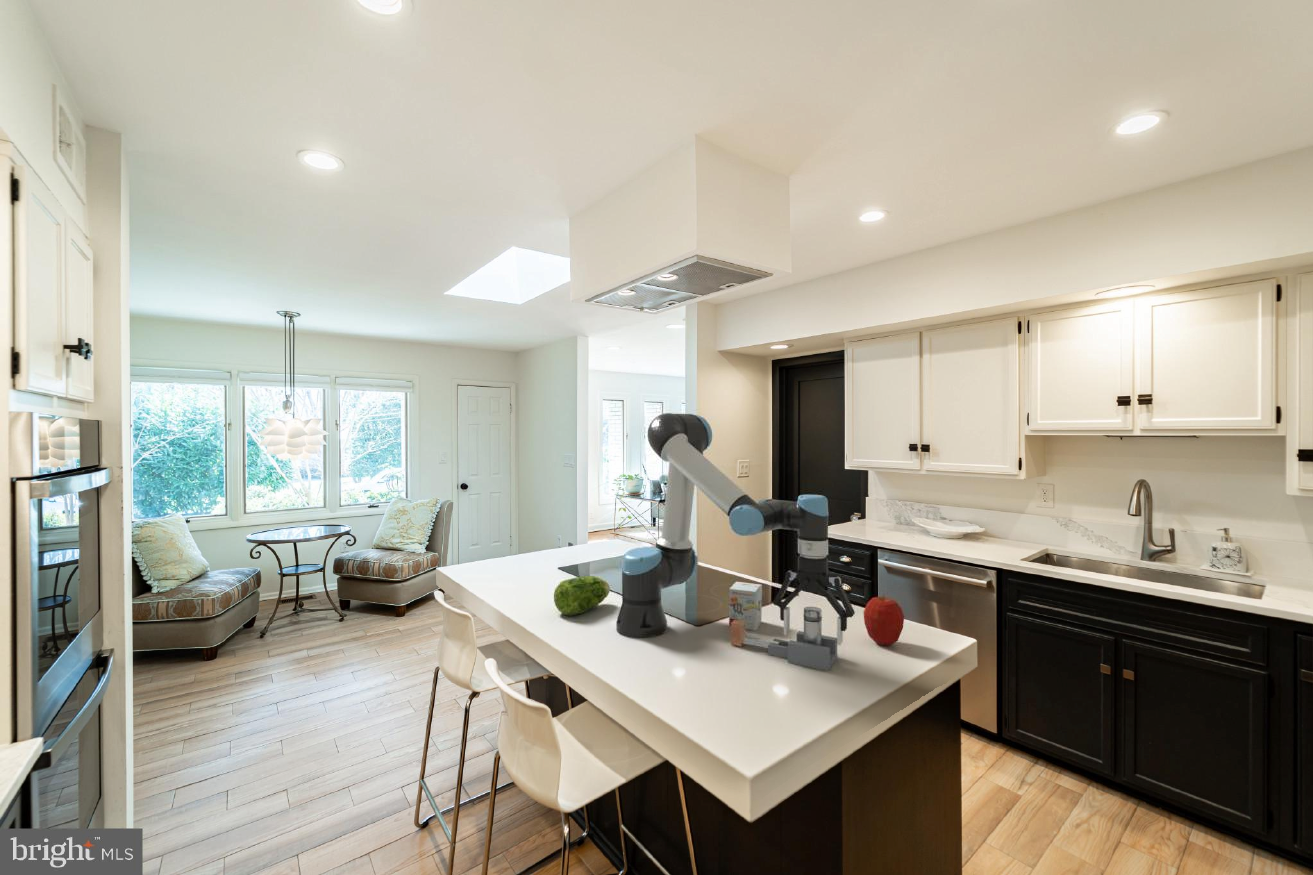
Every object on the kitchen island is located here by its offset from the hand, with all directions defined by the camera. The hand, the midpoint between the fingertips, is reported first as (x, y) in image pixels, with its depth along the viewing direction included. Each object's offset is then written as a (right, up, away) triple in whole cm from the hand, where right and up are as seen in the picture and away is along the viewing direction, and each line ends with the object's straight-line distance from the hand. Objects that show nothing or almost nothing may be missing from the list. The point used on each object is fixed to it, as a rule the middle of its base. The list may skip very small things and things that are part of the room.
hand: (812, 638), depth 143 cm
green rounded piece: (-64, -6, +41) cm, 76 cm away
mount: (-3, -6, +2) cm, 6 cm away
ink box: (-13, -6, +27) cm, 31 cm away
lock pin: (-13, -5, +8) cm, 16 cm away
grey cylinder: (0, -6, 0) cm, 6 cm away
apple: (+23, -6, +11) cm, 26 cm away
